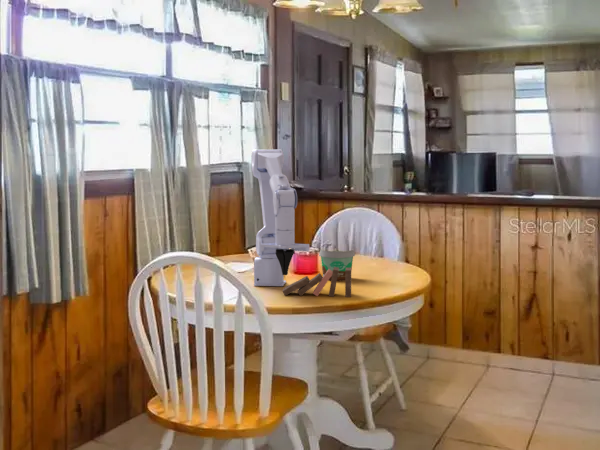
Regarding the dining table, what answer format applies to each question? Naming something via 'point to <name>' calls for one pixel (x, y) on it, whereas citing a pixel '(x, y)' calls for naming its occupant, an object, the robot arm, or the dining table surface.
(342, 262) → the food container
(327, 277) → the domino
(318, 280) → the domino
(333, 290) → the domino
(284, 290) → the domino
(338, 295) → the dining table surface
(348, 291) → the domino
